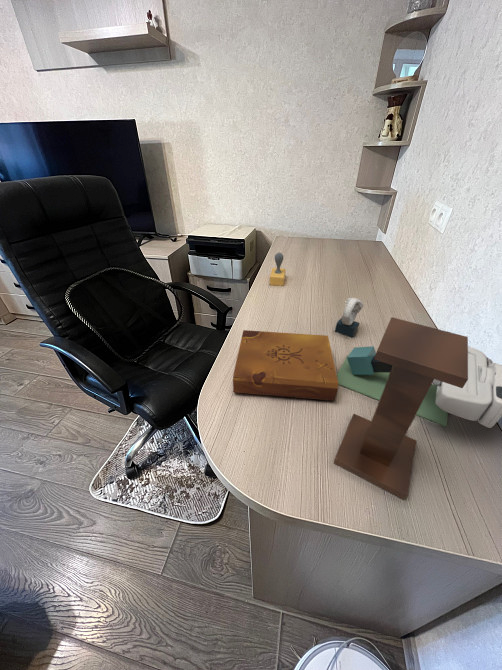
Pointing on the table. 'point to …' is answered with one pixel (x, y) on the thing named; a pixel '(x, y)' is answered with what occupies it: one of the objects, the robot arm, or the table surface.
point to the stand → (401, 402)
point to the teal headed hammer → (366, 361)
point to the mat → (374, 389)
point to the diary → (285, 365)
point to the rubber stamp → (278, 272)
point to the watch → (349, 318)
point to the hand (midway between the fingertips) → (416, 362)
